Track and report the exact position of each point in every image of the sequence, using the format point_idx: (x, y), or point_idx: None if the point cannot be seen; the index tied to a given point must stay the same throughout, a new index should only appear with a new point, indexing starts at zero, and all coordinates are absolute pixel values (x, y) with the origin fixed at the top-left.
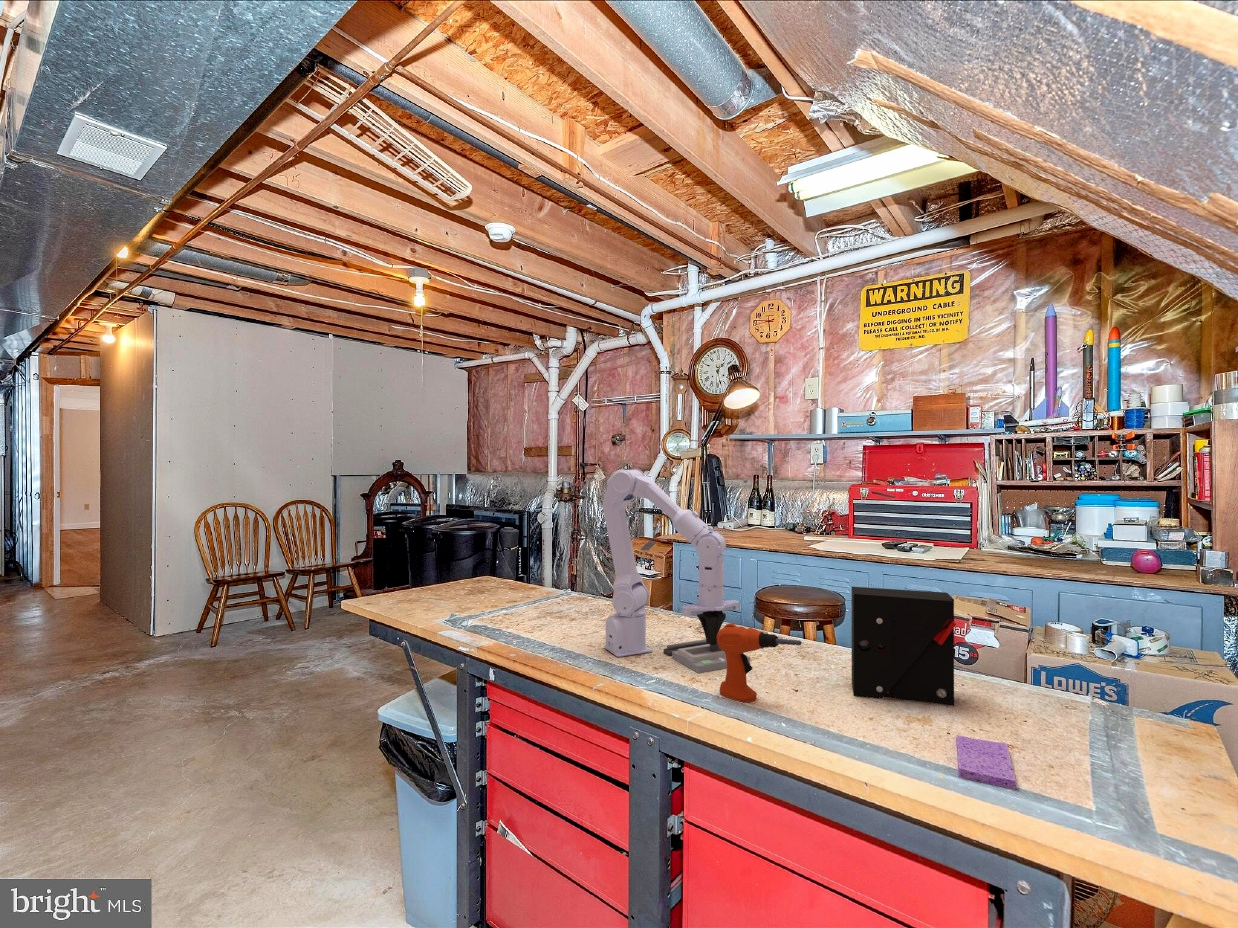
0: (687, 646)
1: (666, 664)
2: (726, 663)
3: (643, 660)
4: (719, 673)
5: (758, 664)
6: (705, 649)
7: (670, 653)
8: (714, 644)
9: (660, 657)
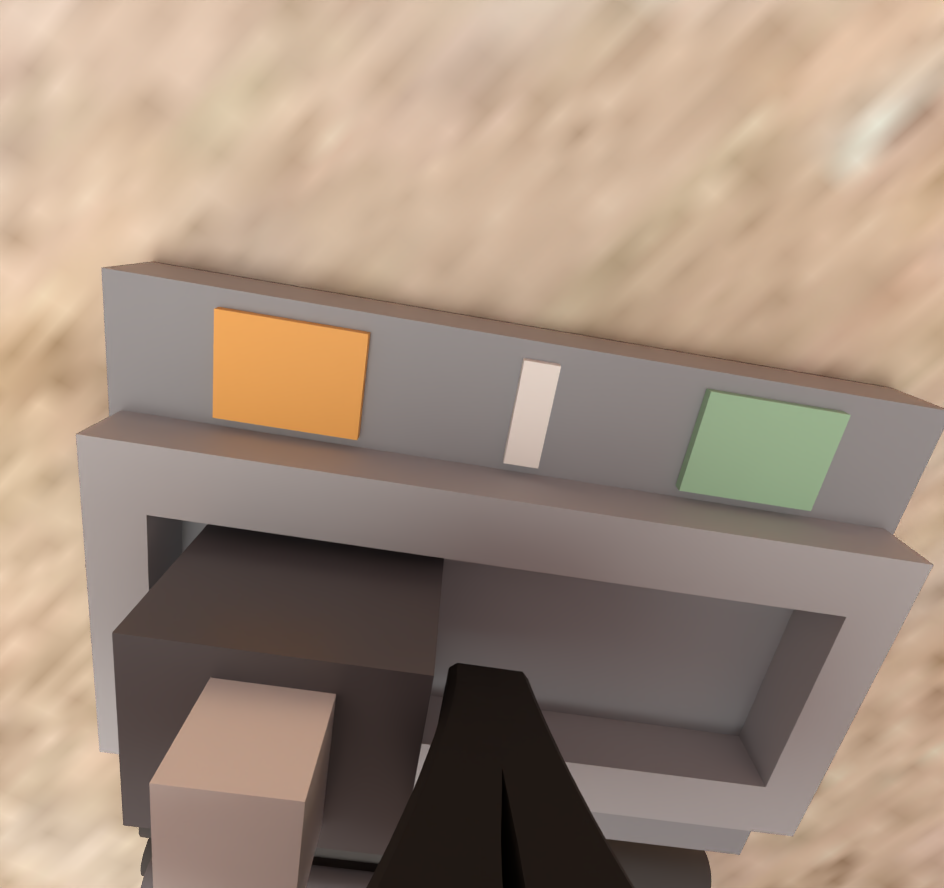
0: None
1: (890, 715)
2: (514, 331)
3: (939, 860)
4: (719, 236)
5: (64, 175)
6: None
7: (689, 852)
8: (477, 666)
9: (777, 844)
